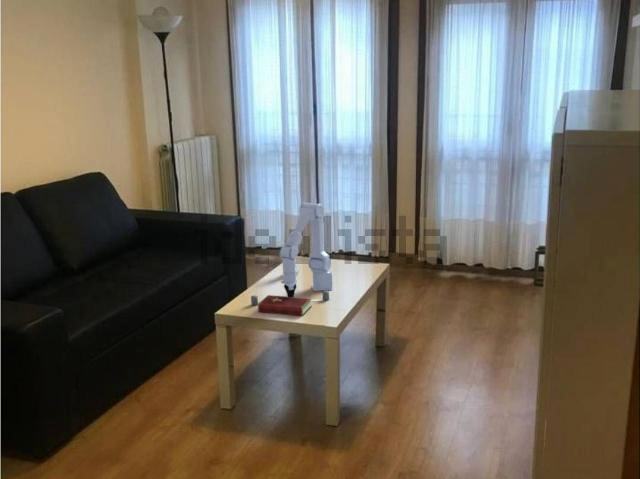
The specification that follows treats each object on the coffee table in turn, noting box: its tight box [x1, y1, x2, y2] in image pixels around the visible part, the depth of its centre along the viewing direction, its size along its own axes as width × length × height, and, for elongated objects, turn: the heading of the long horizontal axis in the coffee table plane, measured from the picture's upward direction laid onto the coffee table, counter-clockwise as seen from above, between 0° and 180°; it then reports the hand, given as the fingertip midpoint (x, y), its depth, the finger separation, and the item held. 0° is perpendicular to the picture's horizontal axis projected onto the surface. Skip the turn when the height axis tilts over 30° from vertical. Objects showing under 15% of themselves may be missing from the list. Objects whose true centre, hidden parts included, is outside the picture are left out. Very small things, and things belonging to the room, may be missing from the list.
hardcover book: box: [257, 294, 312, 317], centre depth 293 cm, size 12×21×4 cm, turn 72°
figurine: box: [295, 257, 301, 277], centre depth 340 cm, size 7×9×15 cm
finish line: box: [250, 290, 330, 307], centre depth 302 cm, size 36×3×4 cm, turn 97°
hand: (290, 300), depth 300 cm, fingers closed
